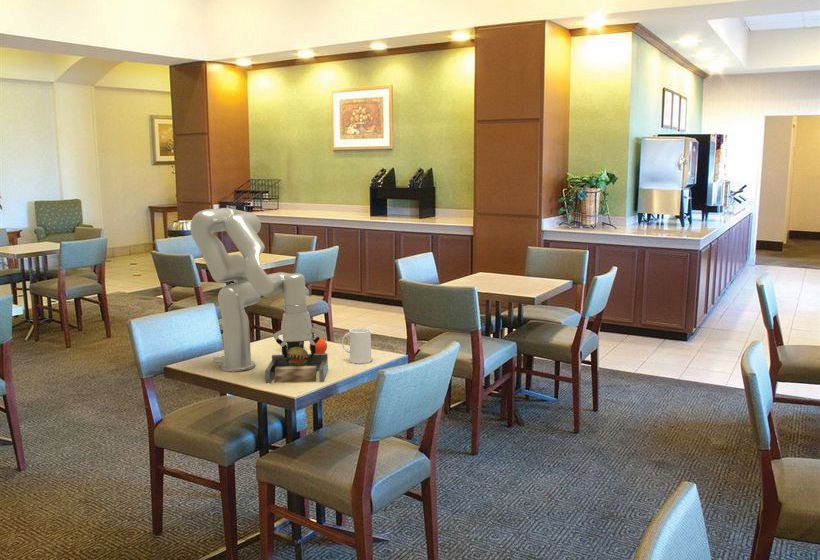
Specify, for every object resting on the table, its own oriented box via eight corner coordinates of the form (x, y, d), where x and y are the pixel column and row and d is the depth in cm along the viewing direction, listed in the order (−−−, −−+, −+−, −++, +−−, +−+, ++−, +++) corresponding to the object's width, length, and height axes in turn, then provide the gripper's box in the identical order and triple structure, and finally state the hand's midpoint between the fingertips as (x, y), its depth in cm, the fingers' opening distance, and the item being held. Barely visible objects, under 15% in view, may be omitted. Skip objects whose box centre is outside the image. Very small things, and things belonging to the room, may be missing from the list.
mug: (338, 361, 265) (337, 331, 263) (348, 356, 273) (347, 326, 271) (365, 364, 260) (364, 333, 258) (375, 359, 268) (374, 328, 266)
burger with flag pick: (283, 377, 246) (281, 344, 245) (294, 371, 253) (293, 339, 251) (302, 379, 243) (300, 345, 242) (312, 373, 250) (311, 341, 248)
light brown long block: (274, 383, 240) (273, 369, 239) (276, 380, 243) (275, 366, 242) (316, 382, 241) (315, 368, 240) (317, 379, 244) (316, 365, 243)
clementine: (318, 358, 270) (317, 340, 269) (304, 356, 273) (303, 339, 272) (330, 353, 277) (330, 336, 276) (316, 351, 280) (316, 334, 279)
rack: (265, 383, 240) (265, 366, 239) (273, 370, 254) (272, 354, 254) (323, 381, 240) (323, 364, 239) (328, 369, 255) (327, 353, 254)
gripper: (269, 312, 240) (273, 360, 243) (319, 309, 241) (322, 357, 243) (273, 308, 248) (276, 354, 250) (321, 305, 248) (324, 352, 251)
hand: (299, 356), depth 247 cm, fingers open, 9 cm apart
